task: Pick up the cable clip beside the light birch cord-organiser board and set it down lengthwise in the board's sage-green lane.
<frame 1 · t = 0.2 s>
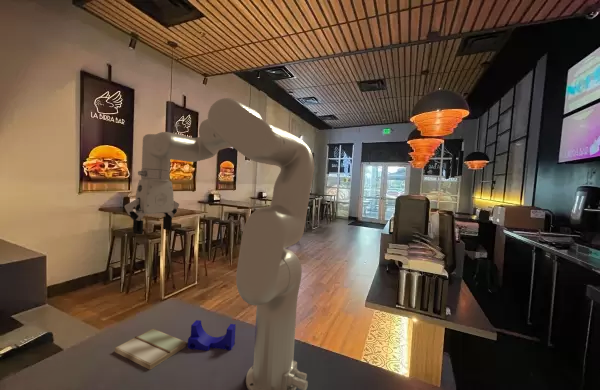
hand: (153, 231, 81), 31 cm above the countertop, tool pointing down, fingers open, 9 cm apart
cable clip: (211, 347, 76), on the countertop
organiser board: (151, 349, 73), on the countertop
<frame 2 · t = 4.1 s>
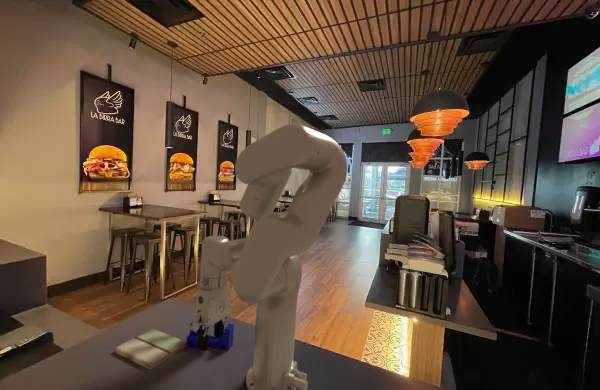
hand: (211, 341, 76), 1 cm above the countertop, tool pointing down, fingers closed on cable clip, 5 cm apart
cable clip: (209, 346, 76), on the countertop, touching gripper
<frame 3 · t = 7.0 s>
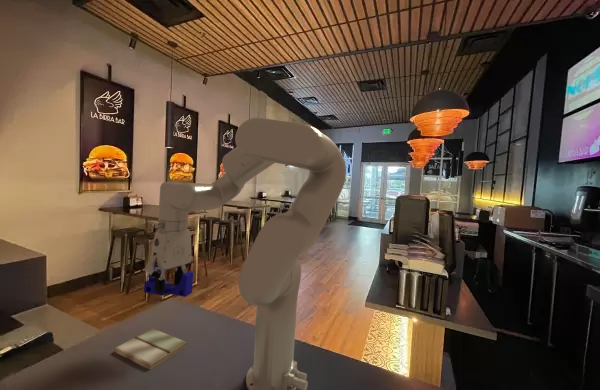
hand: (169, 288, 75), 16 cm above the countertop, tool pointing down, fingers closed on cable clip, 5 cm apart
cable clip: (168, 293, 75), point 15 cm above the countertop, touching gripper
when the fingers open (3 cm above the countertop, at t = 9.9 s): cable clip stays where it is, resting on organiser board.
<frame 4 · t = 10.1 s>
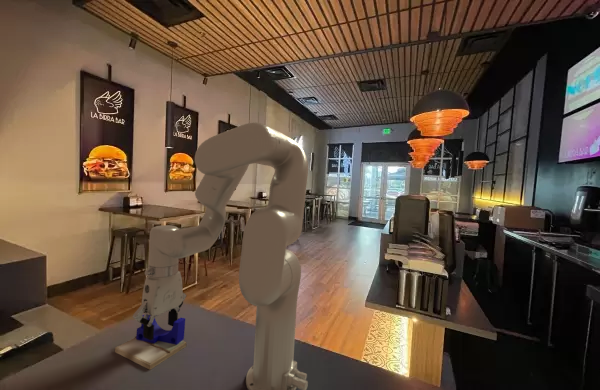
hand: (161, 331, 75), 4 cm above the countertop, tool pointing down, fingers open, 7 cm apart
cable clip: (160, 339, 75), point 1 cm above the countertop, touching organiser board
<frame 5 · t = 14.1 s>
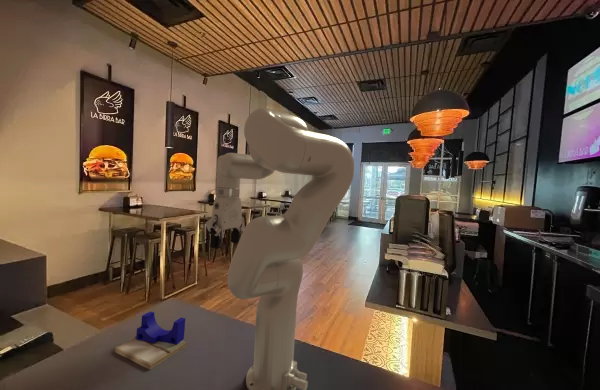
hand: (225, 245, 87), 26 cm above the countertop, tool pointing down, fingers open, 9 cm apart
nothing on the countertop moved.
at the end: cable clip inside the target area (0.1 cm from its centre), point 1.2 cm above the countertop; cable clip tilted 2°; the gripper is holding nothing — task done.
